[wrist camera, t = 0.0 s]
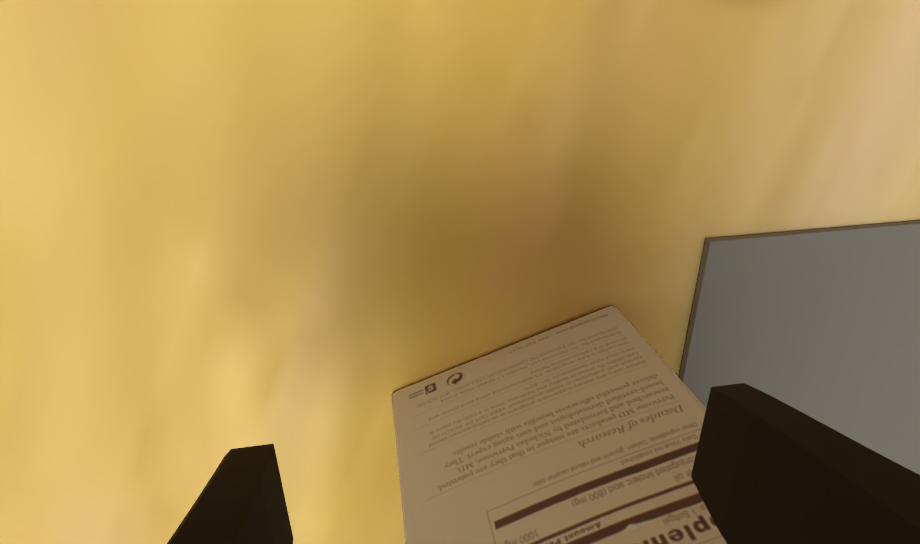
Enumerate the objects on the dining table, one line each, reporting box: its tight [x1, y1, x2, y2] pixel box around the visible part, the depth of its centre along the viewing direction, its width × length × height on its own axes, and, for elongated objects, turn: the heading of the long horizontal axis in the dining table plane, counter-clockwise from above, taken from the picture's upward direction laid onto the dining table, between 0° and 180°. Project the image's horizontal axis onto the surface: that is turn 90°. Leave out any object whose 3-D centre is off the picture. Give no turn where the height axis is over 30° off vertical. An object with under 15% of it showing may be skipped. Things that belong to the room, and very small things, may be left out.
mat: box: [679, 220, 920, 475], centre depth 25 cm, size 16×17×1 cm
